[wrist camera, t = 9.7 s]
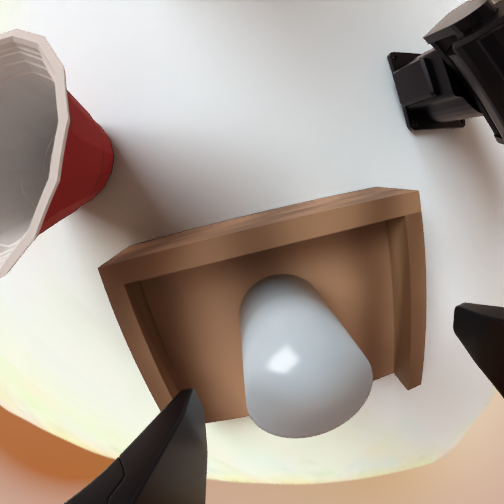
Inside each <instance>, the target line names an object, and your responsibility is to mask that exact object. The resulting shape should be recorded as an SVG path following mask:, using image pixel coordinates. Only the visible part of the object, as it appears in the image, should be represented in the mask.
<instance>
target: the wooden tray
mask: <svg viewBox="0 0 504 504" xmlns="http://www.w3.org/2000/svg"><path fill="white" fill-rule="evenodd" d="M98 270H99V273H100V276H101V279H102V282H103V284H104V287H105V290H106V293H107V295H108V298H109V301H110V303H111V306H112V309H113V311H114V314H115V316H116V319H117V321H118V323H119V326H120V328H121V331H122V333H123V335H124V338H125V340H126V342H127V345H128V347H129V349H130V351H131V353H132V356H133V358H134V360H135V362H136V364H137V366H138V368H139V370H140V372H141V374H142V376H143V378H144V380H145V382H146V384H147V386H148V388H149V390H150V392H151V394H152V396H153V398H154V400H155V402H156V403H157V405H158V407H159V409H160V411H162V410H163V409H164V408H165V407H166V406H167V405H168V404H169V403H170V401H171V400H172V399H173V398H174V397H175V396H176V395H177V394H178V393H179V392H180V391H181V390H184V389H190V388H192V389H194V390H195V391H196V393H197V395H198V397H199V399H200V402H201V404H202V406H203V408H204V413H205V423H210V422H216V421H223V420H229V419H234V418H240V417H245V416H250V415H249V413H248V410H247V406H246V396H245V384H244V372H243V359H242V347H241V334H240V320H239V310H240V305H241V302H242V299H243V298H244V296H245V294H246V293H247V291H248V290H249V289H250V288H251V287H252V286H253V285H254V284H256V283H257V282H258V281H260V280H262V279H264V278H266V277H269V276H272V275H276V274H291V275H296V276H298V277H301V278H303V279H305V280H306V281H308V282H309V283H310V284H311V285H312V286H313V287H314V288H315V289H316V291H317V292H318V293H319V295H320V296H321V297H322V299H323V300H324V301H325V303H326V304H327V305H328V307H329V308H330V309H331V311H332V312H333V313H334V315H335V316H336V317H337V319H338V320H339V321H340V323H341V324H342V325H343V327H344V328H345V329H346V331H347V332H348V333H349V335H350V336H351V338H352V339H353V340H354V342H355V343H356V344H357V346H358V347H359V348H360V350H361V351H362V353H363V354H364V355H365V357H366V358H367V359H368V361H369V363H370V365H371V369H372V374H373V380H376V379H379V378H381V377H384V376H386V375H389V374H392V373H394V374H395V375H396V376H397V377H398V379H399V380H400V381H401V382H402V384H403V385H404V386H405V387H406V389H407V390H410V389H412V388H414V387H416V386H419V385H421V381H422V372H423V361H424V348H425V330H426V265H425V247H424V234H423V223H422V213H421V205H420V197H419V191H417V190H407V189H395V188H383V187H373V188H368V189H364V190H359V191H354V192H349V193H344V194H339V195H335V196H330V197H325V198H321V199H316V200H312V201H307V202H303V203H298V204H294V205H289V206H285V207H281V208H276V209H272V210H268V211H264V212H259V213H255V214H251V215H247V216H243V217H239V218H235V219H231V220H227V221H223V222H219V223H215V224H211V225H207V226H203V227H199V228H195V229H191V230H187V231H183V232H180V233H176V234H172V235H168V236H165V237H161V238H157V239H154V240H150V241H146V242H143V243H139V244H135V245H132V246H129V247H127V248H126V249H124V250H123V251H121V252H120V253H119V254H117V255H116V256H114V257H113V258H111V259H110V260H109V261H107V262H106V263H104V264H103V265H102V266H100V267H99V268H98Z"/></svg>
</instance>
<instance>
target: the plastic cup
mask: <svg viewBox="0 0 504 504" xmlns="http://www.w3.org/2000/svg"><path fill="white" fill-rule="evenodd" d="M113 159H114V154H113V150H112V145H111V141H110V139H109V137H108V136H107V134H106V133H105V132H104V130H103V129H102V127H101V126H100V125H99V124H98V123H96V122H95V121H94V120H93V118H92V117H91V116H90V114H89V113H88V112H87V111H86V110H85V109H84V108H83V106H82V105H81V104H80V103H79V102H78V101H77V100H76V99H75V98H74V97H73V96H72V95H71V94H70V93H69V92H68V90H67V88H66V75H65V69H64V66H63V64H62V63H61V61H60V60H59V58H58V57H57V55H56V54H55V52H54V51H53V49H52V47H51V46H50V44H49V43H48V41H47V40H46V38H45V37H44V36H41V35H37V34H34V33H30V32H26V31H23V30H19V29H15V30H12V31H9V32H6V33H2V34H0V278H1V277H3V276H5V275H6V274H7V273H8V272H9V271H10V270H11V268H12V267H13V266H14V265H15V263H16V262H17V261H18V259H19V258H20V257H21V256H22V254H23V253H24V252H25V250H26V249H27V248H28V247H29V246H30V244H31V243H32V242H33V241H34V240H35V239H36V238H37V236H38V235H39V234H41V233H42V232H44V231H45V230H47V229H48V228H50V227H51V226H53V225H54V224H56V223H57V222H59V221H60V220H62V219H63V218H65V217H67V216H68V215H70V214H71V213H73V212H75V211H76V210H77V209H78V208H79V207H80V206H82V205H83V204H85V203H87V202H88V201H90V200H92V199H93V198H94V197H95V196H96V195H97V194H98V193H99V192H100V191H101V190H102V189H103V188H104V187H105V185H106V183H107V181H108V179H109V177H110V175H111V173H112V166H113Z"/></svg>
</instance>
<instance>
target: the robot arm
mask: <svg viewBox="0 0 504 504" xmlns="http://www.w3.org/2000/svg"><path fill="white" fill-rule="evenodd" d="M423 38H424V39H425V40H426V42H427V43H428V44H431V45H432V46H433V47H434V48H432V49H431V50H429V51H427V52H425V53H423V54H415V53H400V52H391V53H390V54H389V55H388V57H387V58H388V61H389V64H390V67H391V70H392V73H393V78H394V82H395V85H396V88H397V92H398V95H399V99H400V102H401V104H402V108H403V112H404V116H405V120H406V124H407V127H408V128H409V129H410V130H411V131H417V130H430V129H445V128H462V127H464V126H465V119H467V118H473V117H479V116H484V117H485V119H486V120H487V122H488V124H489V125H490V127H491V129H492V130H493V132H494V136H495V138H496V140H497V142H498V143H501V144H504V0H502V1H500V2H498V3H496V4H493V2H492V1H491V0H469V1H467V2H465V3H463V4H462V5H460V6H459V7H457V8H456V9H454V10H453V11H451V12H450V13H448V14H447V15H446V16H445V17H444V18H443V19H442V20H441V21H440V22H439V23H438V24H437V25H436V26H435V27H434V28H433V29H432V30H430V31H429V32H428V33H427V34H426V35H425V36H424V37H423ZM393 57H394V58H395V60H394V59H393ZM459 120H460V121H459ZM412 122H413V123H414V126H413V125H412ZM460 122H461V124H460ZM453 329H454V332H455V334H456V335H457V337H458V338H459V340H460V341H461V343H462V344H463V345H464V347H465V348H466V350H467V351H468V353H469V354H470V356H471V357H472V359H473V360H474V362H475V363H476V364H477V365H478V367H479V368H480V369H481V370H482V371H483V373H484V374H485V375H486V376H487V378H488V379H489V380H490V381H491V383H492V384H493V385H494V386H495V388H496V389H497V390H498V391H499V393H500V394H501V395H502V396H503V398H504V307H497V306H488V305H480V304H472V303H462V304H460V305H458V306H456V307H455V310H454V323H453ZM119 457H120V458H119ZM119 457H118V458H117V459H116V460H115V461H114V462H113V463H112V464H111V465H110V466H109V467H108V468H107V469H106V470H105V471H103V472H102V473H101V474H100V475H99V476H98V477H97V478H96V479H95V480H93V481H92V482H91V483H90V484H88V485H87V486H86V487H85V488H84V489H82V490H81V491H80V492H79V493H77V494H76V495H75V496H73V497H72V498H71V499H69V500H68V501H67V502H66V503H64V504H205V498H206V497H205V496H206V474H207V439H206V426H205V413H204V408H203V406H202V404H201V402H200V399H199V397H198V395H197V393H196V391H195V390H194V389H192V388H190V389H184V390H181V391H180V392H179V393H178V394H177V395H176V396H175V397H174V398H173V399H172V400H171V401H170V403H169V404H168V405H167V406H166V407H165V408H164V409H163V410H162V411H161V412H160V413H159V414H158V416H157V417H156V418H155V419H154V420H153V421H152V422H151V423H150V424H149V425H148V426H147V427H146V428H145V429H144V431H143V432H142V433H141V434H140V435H139V436H138V437H137V438H136V439H135V440H134V441H133V442H132V443H131V444H130V445H129V446H128V447H127V448H126V449H125V450H124V451H123V452H122V454H121V455H120V456H119Z"/></svg>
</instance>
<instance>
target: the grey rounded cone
mask: <svg viewBox="0 0 504 504" xmlns="http://www.w3.org/2000/svg"><path fill="white" fill-rule="evenodd" d="M239 320H240V334H241V347H242V359H243V372H244V384H245V396H246V406H247V410H248V413H249V415H250V417H251V419H252V420H253V422H254V423H255V424H256V425H257V426H258V427H260V428H261V429H263V430H264V431H266V432H268V433H270V434H273V435H276V436H280V437H285V438H306V437H312V436H316V435H320V434H323V433H326V432H328V431H330V430H333V429H335V428H337V427H338V426H340V425H342V424H343V423H345V422H346V421H347V420H349V419H350V418H351V417H352V416H353V415H355V414H356V413H357V412H358V410H359V409H360V408H361V407H362V405H363V404H364V403H365V401H366V399H367V397H368V395H369V393H370V390H371V387H372V381H373V374H372V369H371V365H370V363H369V361H368V359H367V358H366V357H365V355H364V354H363V353H362V351H361V350H360V348H359V347H358V346H357V344H356V343H355V342H354V340H353V339H352V338H351V336H350V335H349V333H348V332H347V331H346V329H345V328H344V327H343V325H342V324H341V323H340V321H339V320H338V319H337V317H336V316H335V315H334V313H333V312H332V311H331V309H330V308H329V307H328V305H327V304H326V303H325V301H324V300H323V299H322V297H321V296H320V295H319V293H318V292H317V291H316V289H315V288H314V287H313V286H312V285H311V284H310V283H309V282H308V281H306V280H305V279H303V278H301V277H298V276H296V275H291V274H276V275H272V276H269V277H266V278H264V279H262V280H260V281H258V282H257V283H256V284H254V285H253V286H252V287H251V288H250V289H249V290H248V291H247V293H246V294H245V296H244V298H243V299H242V302H241V305H240V310H239Z"/></svg>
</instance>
